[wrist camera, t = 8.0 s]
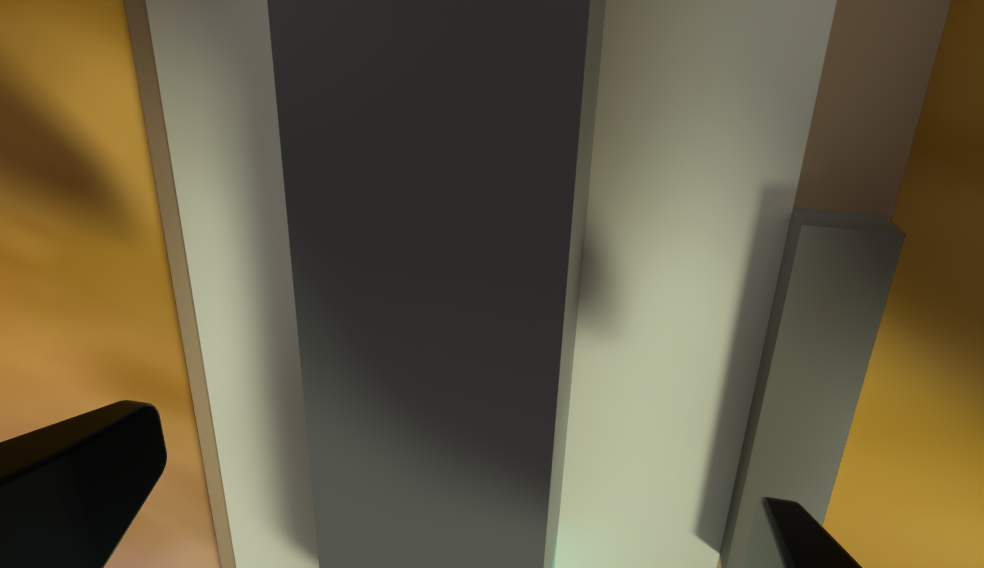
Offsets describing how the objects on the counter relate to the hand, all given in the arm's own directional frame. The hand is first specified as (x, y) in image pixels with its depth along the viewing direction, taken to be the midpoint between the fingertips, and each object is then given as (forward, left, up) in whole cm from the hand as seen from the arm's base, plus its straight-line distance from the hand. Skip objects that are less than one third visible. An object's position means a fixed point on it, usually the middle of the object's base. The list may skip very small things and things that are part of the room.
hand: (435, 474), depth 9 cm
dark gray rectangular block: (0, 0, -3) cm, 3 cm away
